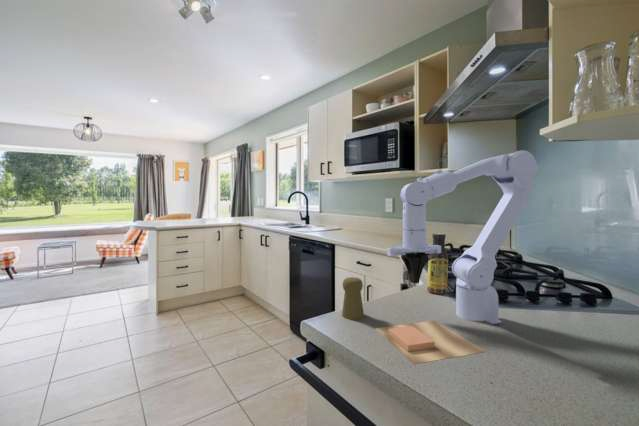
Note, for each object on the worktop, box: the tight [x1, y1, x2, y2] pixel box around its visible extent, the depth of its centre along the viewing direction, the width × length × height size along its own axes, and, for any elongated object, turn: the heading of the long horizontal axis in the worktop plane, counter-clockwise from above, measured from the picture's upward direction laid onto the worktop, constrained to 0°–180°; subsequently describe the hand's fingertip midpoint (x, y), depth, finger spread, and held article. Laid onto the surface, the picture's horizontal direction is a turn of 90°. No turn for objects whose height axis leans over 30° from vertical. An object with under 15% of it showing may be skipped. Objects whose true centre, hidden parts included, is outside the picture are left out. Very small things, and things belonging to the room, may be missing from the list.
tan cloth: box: [375, 320, 487, 365], centre depth 63 cm, size 16×16×1 cm
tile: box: [388, 326, 435, 352], centre depth 62 cm, size 1×8×6 cm
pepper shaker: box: [341, 276, 365, 321], centre depth 77 cm, size 6×6×11 cm
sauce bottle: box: [426, 232, 449, 295], centre depth 100 cm, size 6×6×20 cm
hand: (414, 282), depth 76 cm, fingers closed
